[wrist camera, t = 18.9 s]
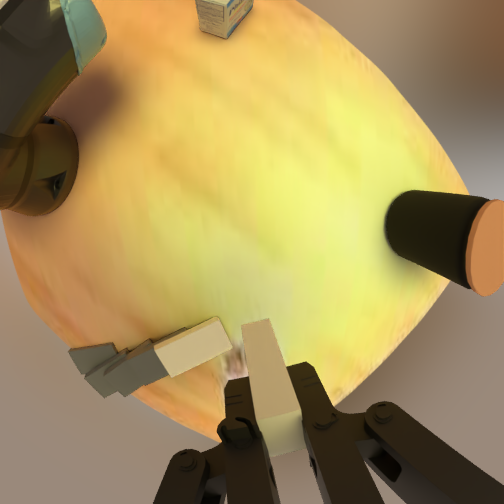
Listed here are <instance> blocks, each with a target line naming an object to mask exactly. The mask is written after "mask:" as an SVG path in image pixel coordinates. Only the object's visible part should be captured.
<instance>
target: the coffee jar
mask: <svg viewBox="0 0 504 504" xmlns="http://www.w3.org/2000/svg"><path fill="white" fill-rule="evenodd" d="M386 228H387V235H388V239H389V242H390V244H391V247H392V248H393V250H394V251H395V252H396V253H397V254H398V255H399V256H401V257H403V258H405V259H407V260H410V261H412V262H414V263H416V264H418V265H420V266H422V267H424V268H427V269H429V270H431V271H433V272H435V273H437V274H439V275H441V276H443V277H445V278H447V279H449V280H451V281H453V282H455V283H457V284H459V285H461V286H463V287H465V288H467V289H472V290H473V291H474V292H476V293H477V294H479V295H481V296H489V295H491V294H493V293H494V292H495V291H497V290H498V289H499V287H500V286H501V285H502V283H503V282H504V201H501V200H498V199H494V200H489V199H486V198H483V197H478V196H470V195H462V194H453V193H443V192H432V191H420V190H411V191H407V192H405V193H403V194H402V195H401V196H399V197H398V198H397V199H396V200H395V202H394V203H393V205H392V206H391V208H390V211H389V213H388V216H387V225H386Z"/></svg>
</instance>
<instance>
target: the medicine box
mask: <svg viewBox="0 0 504 504" xmlns="http://www.w3.org/2000/svg"><path fill="white" fill-rule="evenodd" d="M195 3H196V9H197V14H198V19H199V25H200V30H201V31H204V32H207V33H211V34H214V35H217V36H219V37H222V38H225V39H227V38H228V37H229V35H230V34H231V33H232V32H233V30H234V29H235V28H236V26H237V25H238V24H239V23H240V22H241V20H242V19H243V18H244V17H245V16H246V14H247V13H248V12H249V11H250V10H251V8H252V6H253V0H195Z"/></svg>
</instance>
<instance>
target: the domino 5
mask: <svg viewBox="0 0 504 504" xmlns="http://www.w3.org/2000/svg"><path fill="white" fill-rule="evenodd" d="M232 348H233V347H232V345H231V343H230V341H229V339H228V337H227V334H226V332H225V330H224V328H223V326H222V324H221V322H220V320H219V318H218V317H217V316H215V317H213V318H211V319H209V320H207V321H205V322H203V323H201V324H199V325H197V326H195V327H193V328H191V329H189V330H186V331H184V332H182V333H180V334H178V335H176V336H174V337H172V338H169V339H167V340H165V341H163V342H161V343H159V344H156V345H154V351H155V352H156V354H157V356H158V357H159V359H160V361H161V362H162V364H163V365H164V367H165V368H166V370H167V372H168V373H169V375H170V376H171V378H172V377H174V376H177V375H179V374H181V373H183V372H185V371H187V370H190V369H192V368H194V367H196V366H198V365H200V364H202V363H204V362H206V361H208V360H210V359H212V358H214V357H216V356H218V355H220V354H222V353H224V352H226V351H228V350H230V349H232Z"/></svg>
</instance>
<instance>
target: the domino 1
mask: <svg viewBox="0 0 504 504" xmlns="http://www.w3.org/2000/svg"><path fill="white" fill-rule="evenodd" d="M68 352H69V354H70V356H71V358H72V360H73V361H74V363H75V364H76V366H77V368H78V370H79V371H80V373H81V374H86V373H87V372H89V371H91V370H92V369H94V368H95V367H97V366H99V365H100V364H102V363H103V362H105V361H107V360H108V359H110V358H111V357H113V356H115V355H116V354H118V351H117V349H116V347H115V345H114V343H113V342H112V343H106V344H100V345H94V346H87V347H81V348H74V349H70V350H69V351H68Z"/></svg>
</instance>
